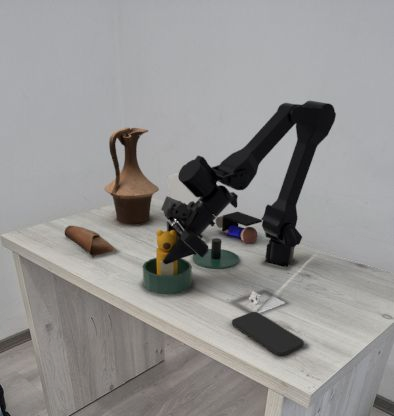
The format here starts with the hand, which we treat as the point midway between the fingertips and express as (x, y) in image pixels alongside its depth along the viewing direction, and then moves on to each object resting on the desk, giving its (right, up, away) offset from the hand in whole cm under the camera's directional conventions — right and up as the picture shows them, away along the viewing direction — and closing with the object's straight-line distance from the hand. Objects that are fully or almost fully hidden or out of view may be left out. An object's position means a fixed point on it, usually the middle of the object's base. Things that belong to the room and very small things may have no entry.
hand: (161, 258), depth 109 cm
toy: (+1, -5, +4) cm, 7 cm away
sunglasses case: (-22, +9, +25) cm, 34 cm away
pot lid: (+14, +3, +16) cm, 21 cm away
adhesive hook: (+23, -11, -2) cm, 26 cm away
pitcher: (-13, +21, +43) cm, 49 cm away
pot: (+1, -6, +4) cm, 7 cm away
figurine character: (+21, +12, +32) cm, 40 cm away
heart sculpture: (+6, +13, +32) cm, 35 cm away
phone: (+23, -19, -14) cm, 32 cm away
